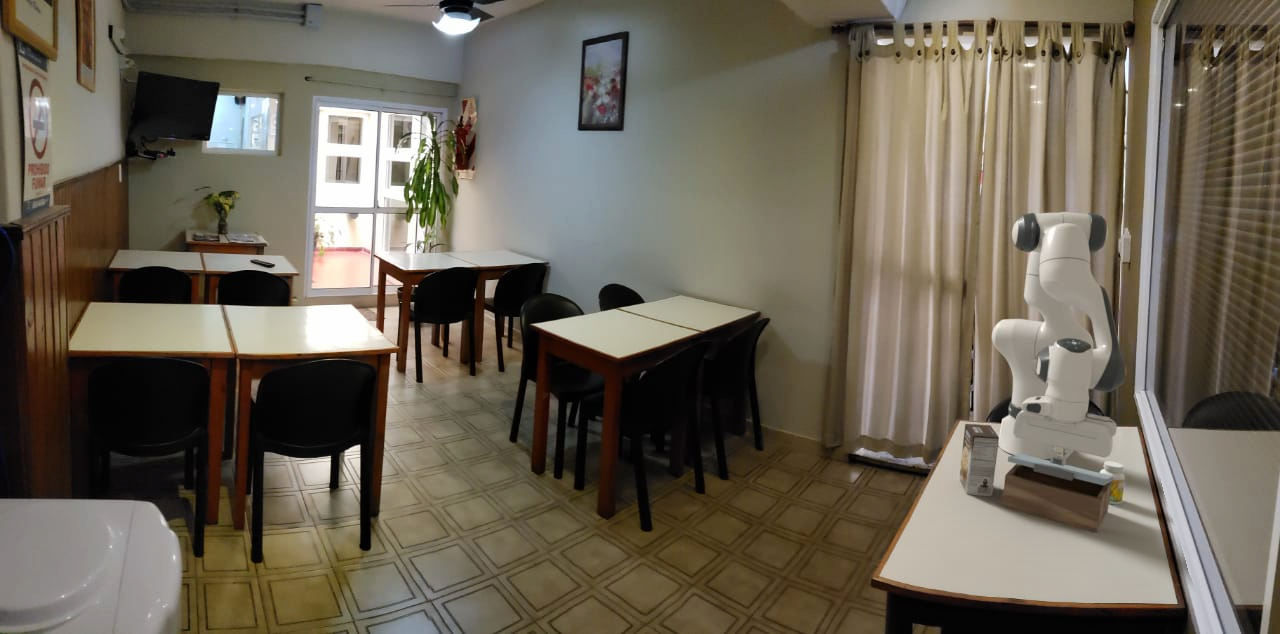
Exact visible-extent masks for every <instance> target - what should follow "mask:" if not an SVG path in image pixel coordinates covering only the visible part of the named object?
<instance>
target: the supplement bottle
mask: <svg viewBox="0 0 1280 634" xmlns="http://www.w3.org/2000/svg"><path fill="white" fill-rule="evenodd" d="M1123 472H1124V465H1123V464H1121V463H1119V462H1117V461H1116V462H1115V461H1110V460H1109V461H1107V460H1106V461H1104V463H1103V469H1101V470H1100V471H1099V473H1102V474H1106V475H1110V476H1113V480H1112V486H1111V493H1110V499H1109V505H1119V504H1121V503H1122V502H1123V496H1124V488H1125V481H1126V475H1125V474H1124V473H1123Z"/></svg>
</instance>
